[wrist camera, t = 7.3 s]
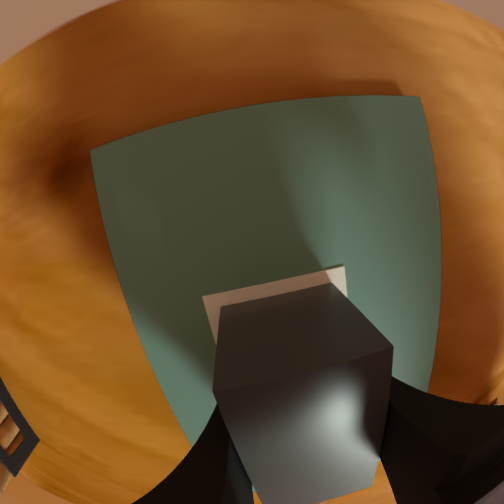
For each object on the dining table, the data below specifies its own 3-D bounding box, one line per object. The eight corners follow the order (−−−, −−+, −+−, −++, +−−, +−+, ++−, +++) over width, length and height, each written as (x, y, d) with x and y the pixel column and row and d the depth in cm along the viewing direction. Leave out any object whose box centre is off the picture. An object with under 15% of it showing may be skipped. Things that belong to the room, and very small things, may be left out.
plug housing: (340, 450, 13) (364, 512, 8) (268, 467, 13) (278, 533, 8) (331, 282, 11) (394, 346, 6) (220, 306, 11) (212, 390, 6)
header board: (407, 437, 15) (426, 467, 12) (223, 484, 15) (223, 522, 12) (408, 101, 10) (453, 83, 7) (100, 152, 10) (55, 143, 7)
